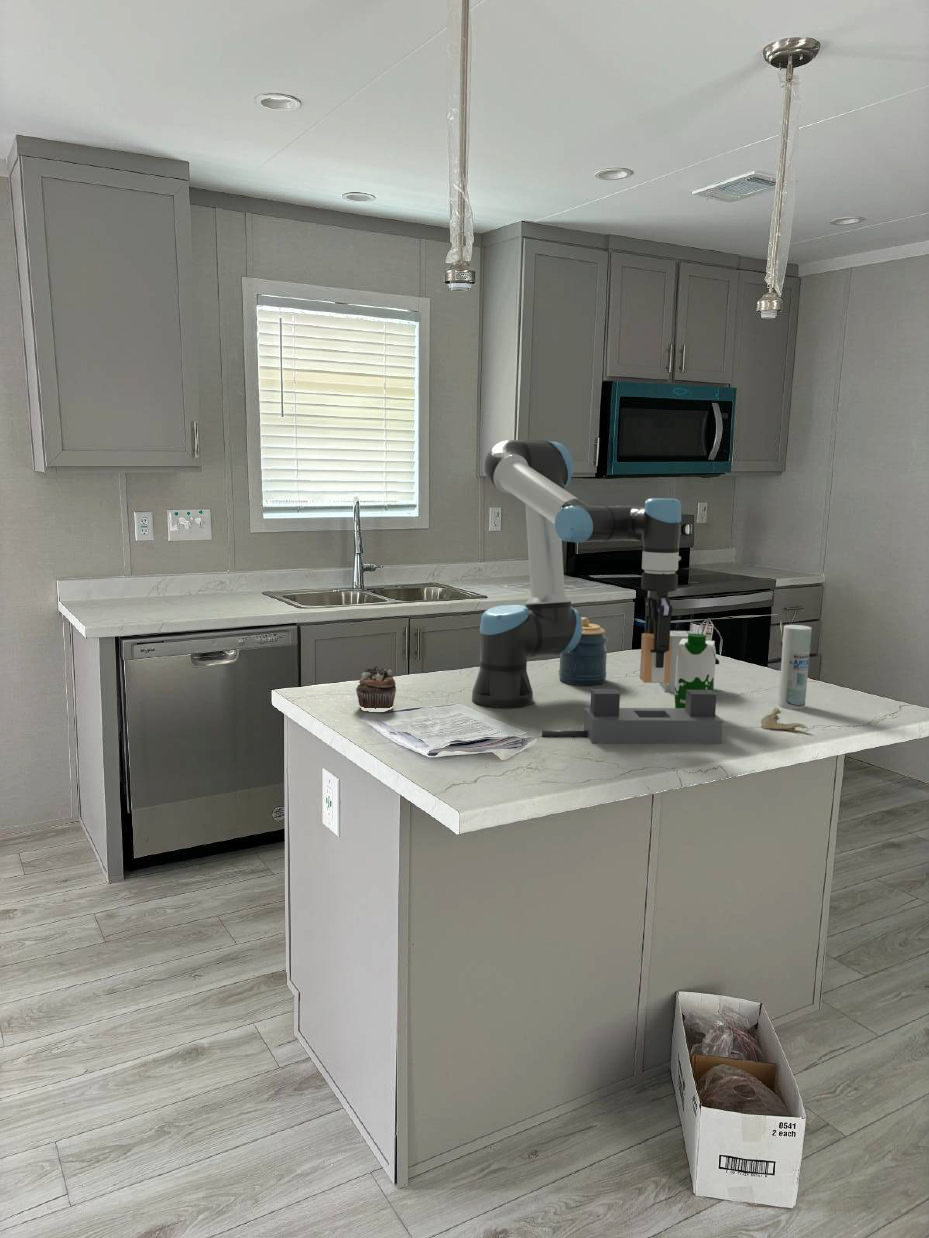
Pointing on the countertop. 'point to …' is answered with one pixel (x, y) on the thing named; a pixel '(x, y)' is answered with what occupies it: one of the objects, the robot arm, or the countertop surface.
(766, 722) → the jawbone
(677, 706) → the milk carton
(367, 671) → the cupcake
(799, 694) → the spray can
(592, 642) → the canister
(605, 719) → the power strip
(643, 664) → the plug
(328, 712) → the countertop surface
